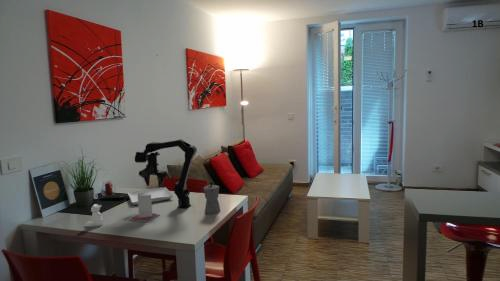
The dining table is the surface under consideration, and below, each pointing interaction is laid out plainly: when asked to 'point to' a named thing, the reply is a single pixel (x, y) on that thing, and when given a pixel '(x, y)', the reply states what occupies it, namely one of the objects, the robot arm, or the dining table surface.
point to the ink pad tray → (144, 218)
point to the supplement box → (144, 204)
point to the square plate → (156, 195)
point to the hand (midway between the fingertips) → (153, 186)
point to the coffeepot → (212, 199)
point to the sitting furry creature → (95, 217)
